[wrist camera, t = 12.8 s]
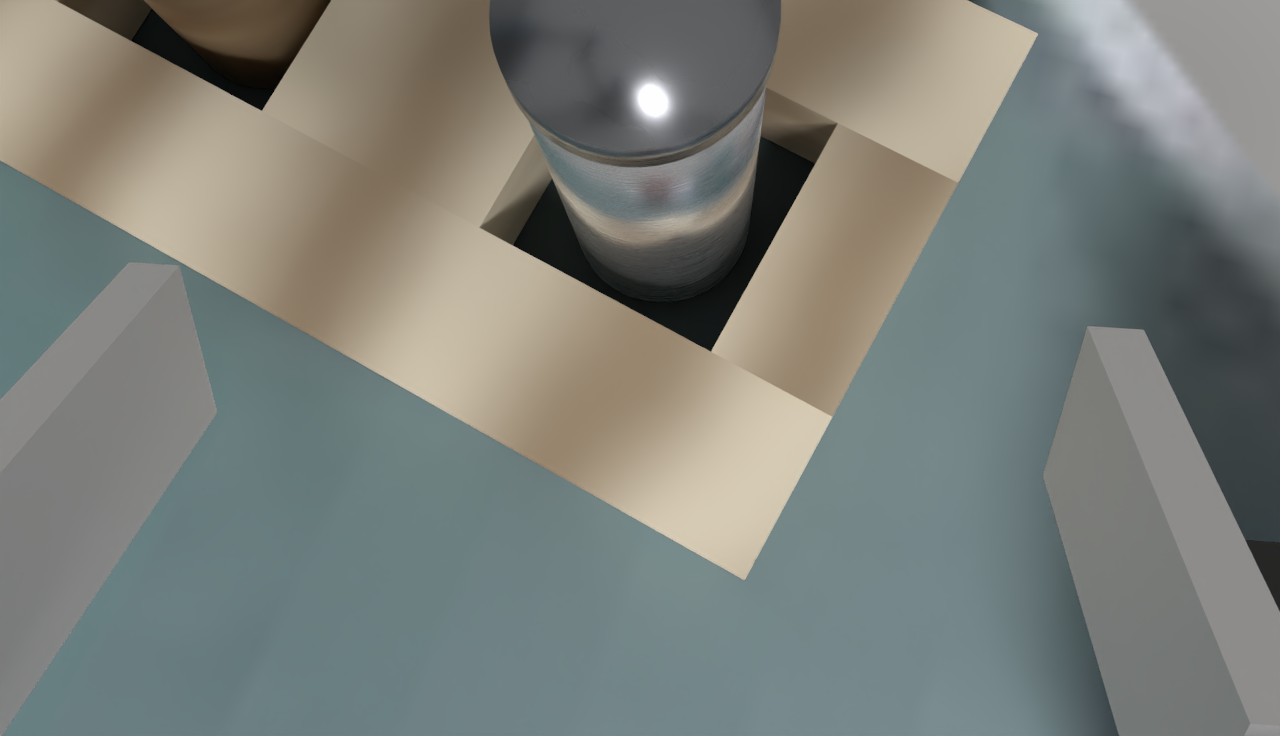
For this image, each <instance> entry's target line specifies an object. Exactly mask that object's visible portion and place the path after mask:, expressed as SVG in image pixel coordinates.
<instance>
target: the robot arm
mask: <svg viewBox="0 0 1280 736" xmlns="http://www.w3.org/2000/svg"><path fill="white" fill-rule="evenodd" d="M216 414H217V410H216V406H215V402H214V398H213V394H212V390H211V386H210V382H209V379H208V375H207V371H206V367H205V363H204V359H203V355H202V352H201V348H200V344H199V340H198V336H197V332H196V328H195V325H194V321H193V317H192V313H191V309H190V305H189V301H188V297H187V294H186V290H185V286H184V282H183V278H182V274H181V270H180V267H179V265H165V264H150V263H135V262H129V263H128V264H127V265H126V266H125V267H124V268H123V270H122V271H121V272H120V273H119V274H118V275H117V276H116V277H115V278H114V279H113V280H112V281H111V282H110V283H109V284H108V286H107V287H106V288H105V289H104V290H103V291H102V292H101V293H100V294H99V295H98V296H97V297H96V298H95V299H94V300H93V302H92V303H91V304H90V305H89V306H88V307H87V308H86V309H85V310H84V311H83V312H82V313H81V314H80V315H79V316H78V318H77V319H76V320H75V321H74V322H73V323H72V324H71V325H70V326H69V327H68V328H67V329H66V330H65V331H64V332H63V334H62V335H61V336H60V337H59V338H58V339H57V340H56V341H55V342H54V343H53V344H52V345H51V346H50V347H49V348H48V349H47V351H46V352H45V353H44V354H43V355H42V356H41V357H40V358H39V359H38V360H37V361H36V362H35V363H34V364H33V365H32V367H31V368H30V369H29V370H28V371H27V372H26V373H25V374H24V375H23V376H22V377H21V378H20V379H19V380H18V381H17V383H16V384H15V385H14V386H13V387H12V388H11V389H10V390H9V391H8V392H7V393H6V394H5V395H4V396H3V397H2V399H1V400H0V736H2V735H3V734H4V732H5V731H6V729H7V728H8V726H9V725H10V723H11V722H12V720H13V719H14V717H15V716H16V714H17V713H18V711H19V710H20V708H21V707H22V705H23V704H24V702H25V701H26V699H27V698H28V696H29V695H30V693H31V692H32V690H33V689H34V687H35V686H36V684H37V683H38V681H39V680H40V678H41V677H42V675H43V674H44V672H45V671H46V669H47V668H48V666H49V665H50V663H51V662H52V660H53V659H54V657H55V656H56V654H57V653H58V651H59V650H60V648H61V647H62V645H63V644H64V642H65V641H66V639H67V638H68V636H69V635H70V633H71V632H72V630H73V629H74V627H75V626H76V624H77V623H78V621H79V620H80V618H81V617H82V615H83V614H84V612H85V611H86V609H87V608H88V606H89V605H90V603H91V602H92V600H93V599H94V597H95V596H96V594H97V593H98V591H99V590H100V588H101V587H102V585H103V584H104V582H105V581H106V579H107V578H108V576H109V575H110V573H111V572H112V570H113V569H114V567H115V566H116V564H117V563H118V561H119V560H120V558H121V556H122V555H123V553H124V552H125V550H126V549H127V547H128V546H129V544H130V543H131V541H132V540H133V538H134V537H135V535H136V534H137V532H138V531H139V529H140V528H141V526H142V525H143V523H144V522H145V520H146V519H147V517H148V516H149V514H150V513H151V511H152V510H153V508H154V507H155V505H156V504H157V502H158V501H159V499H160V498H161V496H162V495H163V493H164V492H165V490H166V489H167V487H168V486H169V484H170V483H171V481H172V480H173V478H174V477H175V475H176V474H177V472H178V471H179V469H180V468H181V466H182V465H183V463H184V462H185V460H186V459H187V457H188V456H189V454H190V453H191V451H192V450H193V448H194V447H195V445H196V444H197V442H198V441H199V439H200V438H201V436H202V435H203V433H204V432H205V430H206V429H207V427H208V426H209V424H210V423H211V421H212V420H213V418H214V417H215V415H216ZM1043 478H1044V481H1045V485H1046V488H1047V492H1048V495H1049V498H1050V502H1051V505H1052V509H1053V512H1054V516H1055V519H1056V522H1057V526H1058V529H1059V533H1060V536H1061V539H1062V543H1063V546H1064V550H1065V553H1066V557H1067V560H1068V563H1069V567H1070V570H1071V574H1072V577H1073V580H1074V584H1075V587H1076V591H1077V594H1078V598H1079V601H1080V604H1081V608H1082V611H1083V615H1084V618H1085V621H1086V625H1087V628H1088V632H1089V635H1090V639H1091V642H1092V645H1093V649H1094V652H1095V656H1096V659H1097V662H1098V666H1099V669H1100V673H1101V676H1102V680H1103V683H1104V686H1105V690H1106V693H1107V697H1108V700H1109V703H1110V707H1111V710H1112V714H1113V717H1114V720H1115V724H1116V727H1117V731H1118V734H1119V736H1280V543H1276V542H1264V541H1251V540H1245V539H1244V537H1243V534H1242V532H1241V530H1240V528H1239V526H1238V524H1237V522H1236V520H1235V518H1234V516H1233V514H1232V512H1231V510H1230V507H1229V505H1228V503H1227V501H1226V499H1225V497H1224V495H1223V493H1222V491H1221V489H1220V487H1219V485H1218V483H1217V481H1216V478H1215V476H1214V474H1213V472H1212V470H1211V468H1210V466H1209V464H1208V462H1207V460H1206V458H1205V456H1204V454H1203V451H1202V449H1201V447H1200V445H1199V443H1198V441H1197V439H1196V437H1195V435H1194V433H1193V431H1192V429H1191V427H1190V425H1189V422H1188V420H1187V418H1186V416H1185V414H1184V412H1183V410H1182V408H1181V406H1180V404H1179V402H1178V400H1177V398H1176V395H1175V393H1174V391H1173V389H1172V387H1171V385H1170V383H1169V381H1168V379H1167V377H1166V375H1165V373H1164V371H1163V369H1162V366H1161V364H1160V362H1159V360H1158V358H1157V356H1156V354H1155V352H1154V350H1153V348H1152V346H1151V344H1150V342H1149V339H1148V337H1147V335H1146V333H1145V331H1144V330H1140V329H1125V328H1110V327H1095V326H1087V329H1086V332H1085V336H1084V339H1083V343H1082V346H1081V349H1080V353H1079V356H1078V359H1077V363H1076V366H1075V369H1074V373H1073V376H1072V379H1071V383H1070V386H1069V390H1068V393H1067V396H1066V400H1065V403H1064V406H1063V410H1062V413H1061V416H1060V420H1059V423H1058V426H1057V430H1056V433H1055V437H1054V440H1053V443H1052V447H1051V450H1050V453H1049V457H1048V460H1047V463H1046V467H1045V470H1044V473H1043Z"/></svg>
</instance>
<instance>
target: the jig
mask: <svg viewBox="0 0 1280 736" xmlns="http://www.w3.org/2000/svg"><path fill="white" fill-rule="evenodd" d="M489 8H490V0H0V160H1V161H2V162H4V163H6V164H8V165H9V166H11V167H13V168H15V169H16V170H18V171H20V172H22V173H24V174H25V175H27V176H29V177H31V178H32V179H34V180H36V181H38V182H40V183H41V184H43V185H45V186H47V187H48V188H50V189H52V190H54V191H55V192H57V193H59V194H61V195H63V196H64V197H66V198H68V199H70V200H71V201H73V202H75V203H77V204H78V205H80V206H82V207H84V208H86V209H87V210H89V211H91V212H93V213H94V214H96V215H98V216H100V217H102V218H103V219H105V220H107V221H109V222H110V223H112V224H114V225H116V226H117V227H119V228H121V229H123V230H125V231H126V232H128V233H130V234H132V235H133V236H135V237H137V238H139V239H141V240H142V241H144V242H146V243H148V244H149V245H151V246H153V247H155V248H156V249H158V250H160V251H162V252H164V253H165V254H167V255H169V256H171V257H172V258H174V259H176V260H178V261H180V262H181V263H183V264H185V265H187V266H188V267H190V268H192V269H194V270H195V271H197V272H199V273H201V274H203V275H204V276H206V277H208V278H210V279H211V280H213V281H215V282H217V283H218V284H220V285H222V286H224V287H226V288H227V289H229V290H231V291H233V292H234V293H236V294H238V295H240V296H242V297H243V298H245V299H247V300H249V301H250V302H252V303H254V304H256V305H257V306H259V307H261V308H263V309H265V310H266V311H268V312H270V313H272V314H273V315H275V316H277V317H279V318H281V319H282V320H284V321H286V322H288V323H289V324H291V325H293V326H295V327H296V328H298V329H300V330H302V331H304V332H305V333H307V334H309V335H311V336H312V337H314V338H316V339H318V340H320V341H321V342H323V343H325V344H327V345H328V346H330V347H332V348H334V349H335V350H337V351H339V352H341V353H343V354H344V355H346V356H348V357H350V358H351V359H353V360H355V361H357V362H358V363H360V364H362V365H364V366H366V367H367V368H369V369H371V370H373V371H374V372H376V373H378V374H380V375H382V376H383V377H385V378H387V379H389V380H390V381H392V382H394V383H396V384H397V385H399V386H401V387H403V388H405V389H406V390H408V391H410V392H412V393H413V394H415V395H417V396H419V397H421V398H422V399H424V400H426V401H428V402H429V403H431V404H433V405H435V406H436V407H438V408H440V409H442V410H444V411H445V412H447V413H449V414H451V415H452V416H454V417H456V418H458V419H460V420H461V421H463V422H465V423H467V424H468V425H470V426H472V427H474V428H475V429H477V430H479V431H481V432H483V433H484V434H486V435H488V436H490V437H491V438H493V439H495V440H497V441H498V442H500V443H502V444H504V445H506V446H507V447H509V448H511V449H513V450H514V451H516V452H518V453H520V454H522V455H523V456H525V457H527V458H529V459H530V460H532V461H534V462H536V463H537V464H539V465H541V466H543V467H545V468H546V469H548V470H550V471H552V472H553V473H555V474H557V475H559V476H561V477H562V478H564V479H566V480H568V481H569V482H571V483H573V484H575V485H576V486H578V487H580V488H582V489H584V490H585V491H587V492H589V493H591V494H592V495H594V496H596V497H598V498H600V499H601V500H603V501H605V502H607V503H608V504H610V505H612V506H614V507H615V508H617V509H619V510H621V511H623V512H624V513H626V514H628V515H630V516H631V517H633V518H635V519H637V520H639V521H640V522H642V523H644V524H646V525H647V526H649V527H651V528H653V529H654V530H656V531H658V532H660V533H662V534H663V535H665V536H667V537H669V538H670V539H672V540H674V541H676V542H677V543H679V544H681V545H683V546H685V547H686V548H688V549H690V550H692V551H693V552H695V553H697V554H699V555H701V556H702V557H704V558H706V559H708V560H709V561H711V562H713V563H715V564H716V565H718V566H720V567H722V568H724V569H725V570H727V571H729V572H731V573H732V574H734V575H736V576H738V577H740V578H741V579H743V580H745V579H746V577H747V575H748V573H749V571H750V569H751V567H752V565H753V564H754V562H755V560H756V558H757V556H758V554H759V552H760V551H761V549H762V547H763V545H764V543H765V541H766V539H767V538H768V536H769V534H770V532H771V530H772V528H773V526H774V525H775V523H776V521H777V519H778V517H779V515H780V513H781V512H782V510H783V508H784V506H785V504H786V502H787V500H788V499H789V497H790V495H791V493H792V491H793V489H794V487H795V486H796V484H797V482H798V480H799V478H800V476H801V474H802V473H803V471H804V469H805V467H806V465H807V463H808V461H809V459H810V458H811V456H812V454H813V452H814V450H815V448H816V446H817V445H818V443H819V441H820V439H821V437H822V435H823V433H824V432H825V430H826V428H827V426H828V424H829V422H830V420H831V419H832V417H833V415H834V413H835V411H836V409H837V407H838V406H839V404H840V402H841V400H842V398H843V396H844V394H845V393H846V391H847V389H848V387H849V385H850V383H851V381H852V380H853V378H854V376H855V374H856V372H857V370H858V368H859V366H860V365H861V363H862V361H863V359H864V357H865V355H866V353H867V352H868V350H869V348H870V346H871V344H872V342H873V340H874V339H875V337H876V335H877V333H878V331H879V329H880V327H881V326H882V324H883V322H884V320H885V318H886V316H887V314H888V313H889V311H890V309H891V307H892V305H893V303H894V301H895V300H896V298H897V296H898V294H899V292H900V290H901V288H902V287H903V285H904V283H905V281H906V279H907V277H908V275H909V273H910V272H911V270H912V268H913V266H914V264H915V262H916V260H917V259H918V257H919V255H920V253H921V251H922V249H923V247H924V246H925V244H926V242H927V240H928V238H929V236H930V234H931V233H932V231H933V229H934V227H935V225H936V223H937V221H938V220H939V218H940V216H941V214H942V212H943V210H944V208H945V207H946V205H947V203H948V201H949V199H950V197H951V195H952V194H953V192H954V190H955V188H956V186H957V184H958V182H959V180H960V179H961V177H962V175H963V173H964V171H965V169H966V167H967V166H968V164H969V162H970V160H971V158H972V156H973V154H974V153H975V151H976V149H977V147H978V145H979V143H980V141H981V140H982V138H983V136H984V134H985V132H986V130H987V128H988V127H989V125H990V123H991V121H992V119H993V117H994V115H995V114H996V112H997V110H998V108H999V106H1000V104H1001V102H1002V101H1003V99H1004V97H1005V95H1006V93H1007V91H1008V89H1009V87H1010V86H1011V84H1012V82H1013V80H1014V78H1015V76H1016V74H1017V73H1018V71H1019V69H1020V67H1021V65H1022V63H1023V61H1024V60H1025V58H1026V56H1027V54H1028V52H1029V50H1030V48H1031V47H1032V45H1033V43H1034V41H1035V39H1036V37H1037V35H1038V33H1036V32H1033V31H1031V30H1029V29H1027V28H1025V27H1023V26H1021V25H1019V24H1016V23H1014V22H1012V21H1010V20H1008V19H1006V18H1004V17H1002V16H999V15H997V14H995V13H993V12H991V11H989V10H987V9H985V8H983V7H980V6H978V5H976V4H974V3H972V2H970V1H968V0H781V24H780V31H779V39H778V46H777V52H776V57H775V63H774V66H773V69H772V72H771V75H770V78H769V81H768V83H767V86H766V94H765V102H764V110H763V118H762V127H761V135H760V136H762V137H764V138H766V139H768V140H770V141H772V142H774V143H776V144H778V145H780V146H782V147H784V148H785V149H787V150H789V151H791V152H793V153H795V154H797V155H799V156H801V157H803V158H805V159H807V160H809V161H811V162H813V163H815V165H814V167H813V169H812V171H811V173H810V174H809V176H808V178H807V180H806V182H805V183H804V185H803V187H802V189H801V191H800V192H799V194H798V196H797V198H796V200H795V201H794V203H793V205H792V207H791V209H790V210H789V212H788V214H787V216H786V218H785V219H784V221H783V223H782V225H781V227H780V228H779V230H778V232H777V234H776V236H775V237H774V239H773V241H772V243H771V245H770V246H769V248H768V250H767V252H766V254H765V255H764V257H763V259H762V261H761V263H760V264H759V266H758V268H757V270H756V272H755V273H754V275H753V277H752V279H751V281H750V282H749V284H748V286H747V288H746V290H745V291H744V293H743V295H742V297H741V299H740V300H739V302H738V304H737V306H736V308H735V309H734V311H733V313H732V315H731V316H730V318H729V320H728V322H727V324H726V325H725V327H724V329H723V331H722V333H721V334H720V336H719V338H718V340H717V342H716V343H715V345H714V347H713V349H712V351H711V352H710V351H709V350H707V349H705V348H703V347H701V346H699V345H697V344H696V343H694V342H692V341H690V340H688V339H686V338H684V337H682V336H681V335H679V334H677V333H675V332H673V331H671V330H669V329H668V328H666V327H664V326H662V325H660V324H658V323H656V322H654V321H653V320H651V319H649V318H647V317H645V316H643V315H641V314H640V313H638V312H636V311H634V310H632V309H630V308H628V307H627V306H625V305H623V304H621V303H619V302H617V301H615V300H613V299H612V298H610V297H608V296H606V295H604V294H602V293H600V292H599V291H597V290H595V289H593V288H591V287H589V286H587V285H585V284H584V283H582V282H580V281H578V280H576V279H574V278H572V277H571V276H569V275H567V274H565V273H563V272H561V271H559V270H557V269H556V268H554V267H552V266H550V265H548V264H546V263H544V262H543V261H541V260H539V259H537V258H535V257H533V256H531V255H529V254H528V253H526V252H524V251H522V250H520V249H518V248H516V247H515V246H513V244H514V242H515V241H516V239H517V237H518V236H519V234H520V232H521V231H522V229H523V227H524V225H525V224H526V222H527V220H528V219H529V217H530V215H531V213H532V212H533V210H534V208H535V207H536V205H537V203H538V202H539V200H540V198H541V196H542V195H543V193H544V191H545V190H546V188H547V186H548V185H549V183H550V181H551V179H552V176H551V174H550V172H549V169H548V167H547V164H546V162H545V160H544V157H543V155H542V152H541V150H540V148H539V145H538V143H537V140H536V138H535V136H534V133H533V131H532V128H531V126H530V124H529V121H528V119H527V118H526V117H525V116H524V114H523V113H522V111H521V110H520V108H519V107H518V106H517V104H516V102H515V100H514V99H513V97H512V95H511V93H510V91H509V89H508V87H507V84H506V82H505V80H504V77H503V75H502V73H501V70H500V68H499V65H498V62H497V60H496V57H495V54H494V51H493V46H492V41H491V36H490V26H489ZM151 9H153V10H154V11H155V12H156V13H157V14H158V15H159V16H160V17H161V18H162V19H163V20H164V21H165V22H166V23H167V24H168V25H169V26H170V27H171V28H172V29H173V30H174V31H175V32H176V33H177V34H178V35H179V36H180V37H182V38H183V39H184V40H185V41H186V42H187V43H188V44H189V45H190V46H191V47H192V48H193V49H194V50H195V51H196V52H197V53H198V54H199V55H200V56H201V57H202V58H203V59H204V60H205V61H206V62H207V63H208V64H209V65H210V66H211V67H212V68H213V69H214V70H216V71H217V72H218V73H219V74H220V75H222V76H223V77H225V78H227V79H228V80H230V81H232V82H235V83H237V84H240V85H243V86H246V87H251V88H258V89H273V88H276V89H275V91H274V92H273V94H272V96H271V97H270V99H269V100H268V102H267V104H266V105H265V107H264V108H263V110H262V111H261V110H259V109H257V108H255V107H253V106H251V105H250V104H248V103H246V102H244V101H242V100H240V99H238V98H236V97H235V96H233V95H231V94H229V93H227V92H225V91H223V90H222V89H220V88H218V87H216V86H214V85H212V84H210V83H208V82H207V81H205V80H203V79H201V78H199V77H197V76H195V75H194V74H192V73H190V72H188V71H186V70H184V69H182V68H180V67H179V66H177V65H175V64H173V63H171V62H169V61H167V60H166V59H164V58H162V57H160V56H158V55H156V54H154V53H153V52H151V51H149V50H147V49H145V48H143V47H141V46H139V45H138V44H136V43H134V42H132V41H131V40H132V39H133V37H134V36H135V34H136V33H137V31H138V29H139V28H140V26H141V25H142V23H143V22H144V20H145V19H146V17H147V16H148V14H149V12H150V11H151Z"/></svg>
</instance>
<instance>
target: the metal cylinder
mask: <svg viewBox="0 0 1280 736" xmlns="http://www.w3.org/2000/svg"><path fill="white" fill-rule="evenodd" d="M780 24H781V0H490V8H489V26H490V36H491V41H492V46H493V51H494V54H495V57H496V60H497V62H498V65H499V68H500V70H501V73H502V75H503V77H504V80H505V82H506V84H507V87H508V89H509V91H510V93H511V95H512V97H513V99H514V100H515V102H516V104H517V106H518V107H519V108H520V110H521V111H522V113H523V114H524V116H525V117H526V118H527V119H528V121H529V124H530V126H531V128H532V131H533V133H534V136H535V138H536V140H537V143H538V145H539V148H540V150H541V152H542V155H543V157H544V160H545V162H546V164H547V167H548V169H549V172H550V174H551V176H552V179H553V181H554V184H555V186H556V188H557V191H558V193H559V196H560V198H561V200H562V203H563V205H564V208H565V210H566V212H567V215H568V217H569V220H570V222H571V224H572V227H573V229H574V232H575V234H576V236H577V239H578V241H579V244H580V246H581V249H582V251H583V253H584V255H585V257H586V259H587V261H588V263H589V264H590V265H591V267H592V268H593V270H594V271H595V272H596V273H597V274H598V276H599V277H600V278H601V279H602V280H603V281H605V282H606V283H607V284H608V285H610V286H611V287H612V288H614V289H616V290H617V291H619V292H620V293H623V294H625V295H627V296H629V297H632V298H635V299H639V300H642V301H648V302H659V303H666V302H676V301H681V300H685V299H689V298H692V297H694V296H697V295H699V294H701V293H703V292H705V291H707V290H709V289H710V288H712V287H713V286H714V285H716V284H717V283H718V282H720V281H721V280H722V279H723V278H724V277H725V276H726V275H727V274H728V273H729V272H730V270H731V269H732V268H733V267H734V265H735V264H736V262H737V261H738V259H739V257H740V255H741V253H742V251H743V249H744V246H745V243H746V240H747V237H748V231H749V225H750V217H751V208H752V200H753V192H754V184H755V176H756V167H757V159H758V151H759V143H760V135H761V127H762V118H763V110H764V102H765V94H766V86H767V83H768V81H769V78H770V75H771V72H772V69H773V66H774V63H775V57H776V52H777V46H778V39H779V31H780Z"/></svg>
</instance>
